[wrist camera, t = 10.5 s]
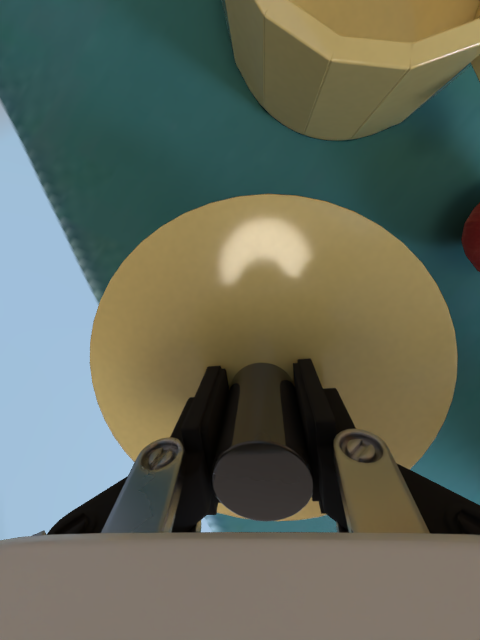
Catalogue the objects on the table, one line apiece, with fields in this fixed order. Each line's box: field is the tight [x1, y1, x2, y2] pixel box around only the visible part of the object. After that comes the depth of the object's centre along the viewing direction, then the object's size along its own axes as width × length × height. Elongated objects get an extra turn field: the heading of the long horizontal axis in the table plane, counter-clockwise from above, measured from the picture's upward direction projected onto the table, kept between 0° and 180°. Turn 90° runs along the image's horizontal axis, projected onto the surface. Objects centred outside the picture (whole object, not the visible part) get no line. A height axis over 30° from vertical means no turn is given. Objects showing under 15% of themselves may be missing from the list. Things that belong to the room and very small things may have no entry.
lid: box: [90, 194, 458, 521], centre depth 10 cm, size 16×16×6 cm
